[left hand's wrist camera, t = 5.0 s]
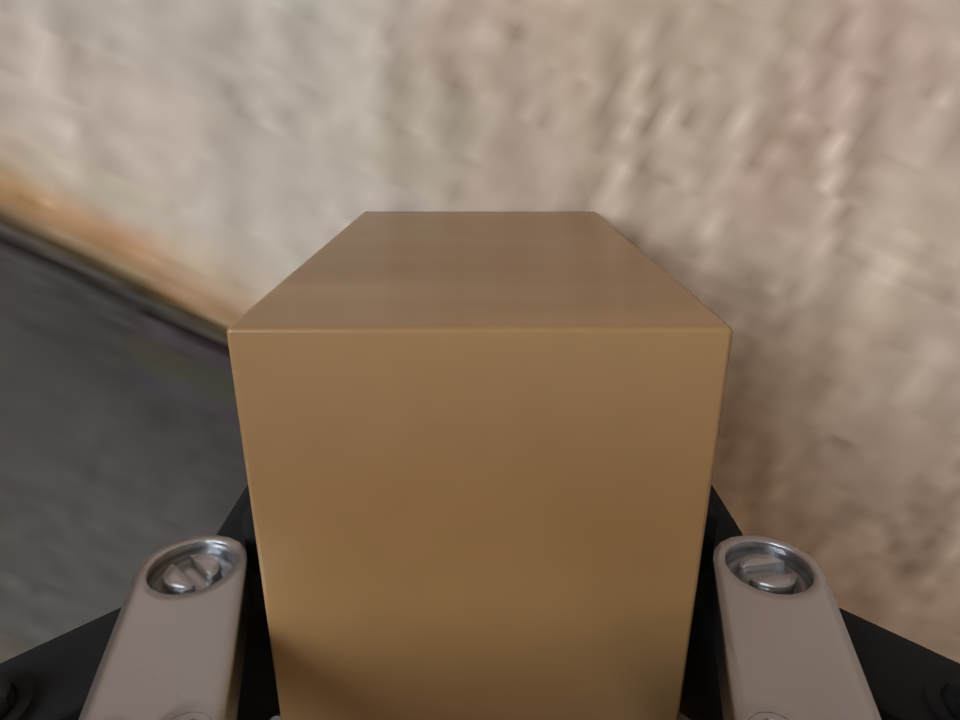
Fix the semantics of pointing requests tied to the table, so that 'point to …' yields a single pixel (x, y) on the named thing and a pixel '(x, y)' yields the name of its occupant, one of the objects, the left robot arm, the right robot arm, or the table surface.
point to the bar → (479, 469)
